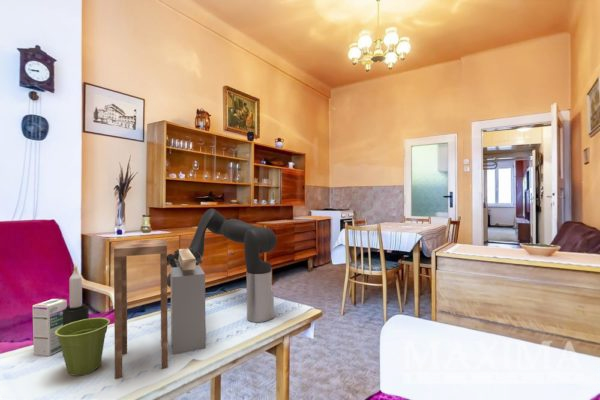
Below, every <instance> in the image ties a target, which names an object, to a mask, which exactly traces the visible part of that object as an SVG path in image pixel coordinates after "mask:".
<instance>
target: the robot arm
mask: <svg viewBox="0 0 600 400" xmlns="http://www.w3.org/2000/svg"><path fill="white" fill-rule="evenodd" d="M207 230H208V231H210V232H211V233H213V234H215V235H220V236H223V238H226V239H228V240H230V241H232V242H235V243H239V244H240V243H241V244H243V246H244V248H243V249H244V262H245V266H246V267H245V268H246V320H247V321H248V322H253V323H263V322H268V321H270V320H272V319H274V318H275V316H274V315H275V314H274V313H275V312H274V311H275V307H274V306H275V305H274V301H275V300H274V299H275V298H274V296H275V294H274V292H273V290H272V287H273V286H272V284H273V283H272V282H273V281H272V277H273V276H272V263H270V262H268V261H266V260H265V261H264V260H262V259H261V257H260V254H262V253H269V252H271V251H272V252H273V250H275V247H277V244H278V243H277V242H278V240H277V235H276V234H275V232H274V231H273V230H272V229H271V228H268V227H262V226H256V225H253V224H251V223H248V222H245V221H243V220H240V219H238V218H230V219H227V218H226V217H225V216H224V215H222V214H221V213H220V212H219V211H218V210H216V209H214V208H209V209H207V210H206V211H205V212H204V213H203V214H202V216H201V218H200V220H199V222H198V226H197V228H196V230H195V233H194V236H193V238H192V240H191V243H190V244H189V247H188V249H189V251H190V252H191V253H192V254H193V256H194V257H195V258H196V265H199V264H203V256H204V252H205V235H206V231H207ZM179 249H180V248H178V249H176V250H174V254H173V253H169V254H167V266H170V268H174V267H181V265H180V263H179V260H178V259H179ZM167 287H169V288H171V272H170V273H169V274H167Z"/></svg>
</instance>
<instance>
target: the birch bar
mask: <svg viewBox="0 0 600 400" xmlns="http://www.w3.org/2000/svg"><path fill="white" fill-rule="evenodd" d="M178 249H179V259H178V260H179V263H180V265H181V268H182V270H192V269H196V258H195V257H194V256H193V254H192V253H191V252H190V251H189V248H178Z"/></svg>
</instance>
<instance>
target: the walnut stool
mask: <svg viewBox="0 0 600 400" xmlns="http://www.w3.org/2000/svg"><path fill="white" fill-rule="evenodd" d="M167 247H168V244H167V240H166V238H165V239H164V238H163V239H148V240H130V241H119V243H118V244H117V245H116V246H115V247H114V248H113V290H114V291H113V293H114V294H113V295H114V296H113V304H114V305H113V306H114V307H113V308H114V309H113V310H114V312H113V313H114V315H113V317H114V329H113V331H114V379H115V380H118V379H122V378H123V374H124V373H123V355H126V354H128V297H127V296H128V291H127V290H128V280H127V279H128V275H127V273H128V269H127V267H128V265H127V264H128V263H127V257H132V256H145V255H146V256H148V255H159V257H160V261H159V262H160V271H159V273H160V347H161V349H160V350H161V352H160V353H161V370H162V369H168V368H169V354H168V353H169V349H168V343H169V342H168V341H169V339H168V338H169V337H168V333H169V332H168V331H169V330H168V327H169V325H168V322H169V321H168V285H167V277H168V265H167V255H168V248H167Z"/></svg>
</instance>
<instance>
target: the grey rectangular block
mask: <svg viewBox="0 0 600 400" xmlns="http://www.w3.org/2000/svg"><path fill="white" fill-rule="evenodd" d="M169 271H170V273H171V287H170V339H171V348H172V355H178V354H182V353H188V352H192V351H197V350H203V349H206V346H207V345H206V344H207V343H206V341H207V340H206V338H207V337H206V335H207V334H206V273H205V272H204V270H203V268H202V267H201V265H199V264H198V265H196V269H192V270H182V268H181V267H174V268H171V267H170V270H169Z"/></svg>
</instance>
